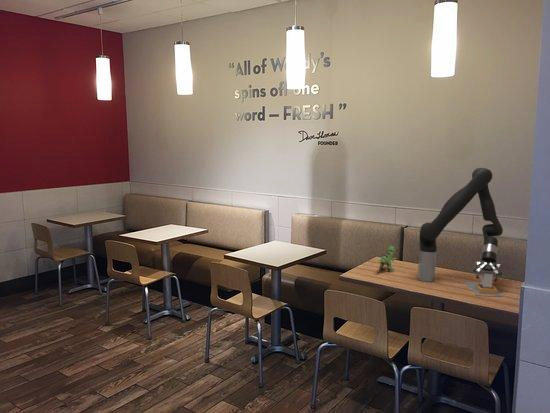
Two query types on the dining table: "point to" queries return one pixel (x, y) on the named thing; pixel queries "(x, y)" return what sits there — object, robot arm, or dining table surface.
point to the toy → (387, 260)
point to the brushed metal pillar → (486, 280)
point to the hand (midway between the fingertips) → (486, 279)
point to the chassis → (482, 289)
